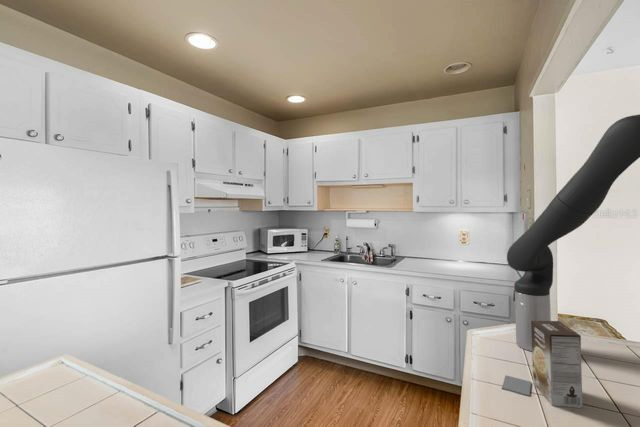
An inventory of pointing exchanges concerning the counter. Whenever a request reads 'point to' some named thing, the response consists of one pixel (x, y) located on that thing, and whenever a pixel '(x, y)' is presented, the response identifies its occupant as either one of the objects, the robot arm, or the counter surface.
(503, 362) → the counter surface
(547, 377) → the coffee box
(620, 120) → the robot arm
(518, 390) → the mat
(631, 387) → the counter surface
